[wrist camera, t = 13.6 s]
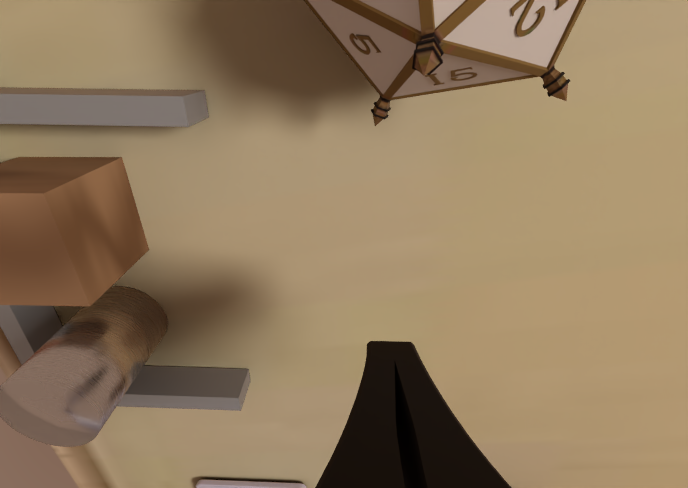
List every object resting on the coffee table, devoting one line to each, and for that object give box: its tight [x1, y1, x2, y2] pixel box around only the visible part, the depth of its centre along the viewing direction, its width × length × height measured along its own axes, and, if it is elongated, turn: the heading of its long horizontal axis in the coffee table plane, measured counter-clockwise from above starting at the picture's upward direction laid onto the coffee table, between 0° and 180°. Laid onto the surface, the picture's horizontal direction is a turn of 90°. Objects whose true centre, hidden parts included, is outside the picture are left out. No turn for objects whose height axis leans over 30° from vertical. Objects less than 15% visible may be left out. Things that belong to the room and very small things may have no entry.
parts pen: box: [0, 88, 250, 411], centre depth 17 cm, size 16×11×2 cm
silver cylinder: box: [0, 286, 168, 447], centre depth 17 cm, size 4×4×6 cm
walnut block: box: [0, 157, 149, 306], centre depth 15 cm, size 4×4×4 cm
